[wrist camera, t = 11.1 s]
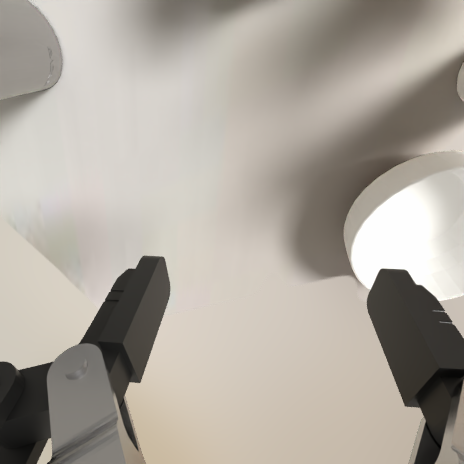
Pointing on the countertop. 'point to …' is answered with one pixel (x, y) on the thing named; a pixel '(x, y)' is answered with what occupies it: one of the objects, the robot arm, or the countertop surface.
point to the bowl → (412, 224)
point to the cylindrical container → (461, 82)
